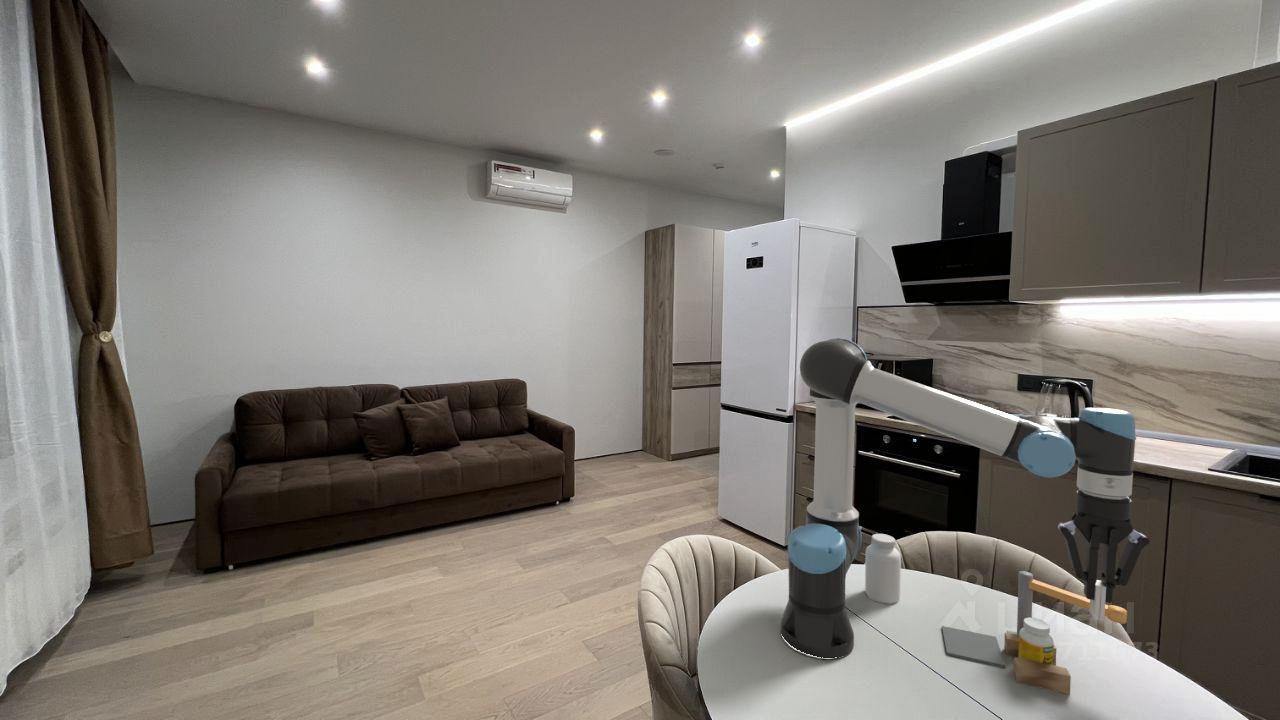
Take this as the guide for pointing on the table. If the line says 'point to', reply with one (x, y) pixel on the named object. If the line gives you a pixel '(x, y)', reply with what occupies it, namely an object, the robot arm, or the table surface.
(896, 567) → the pill bottle
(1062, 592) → the grey orange l-shaped piece
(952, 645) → the mat
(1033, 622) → the supplement bottle
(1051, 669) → the wooden block set
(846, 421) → the robot arm
